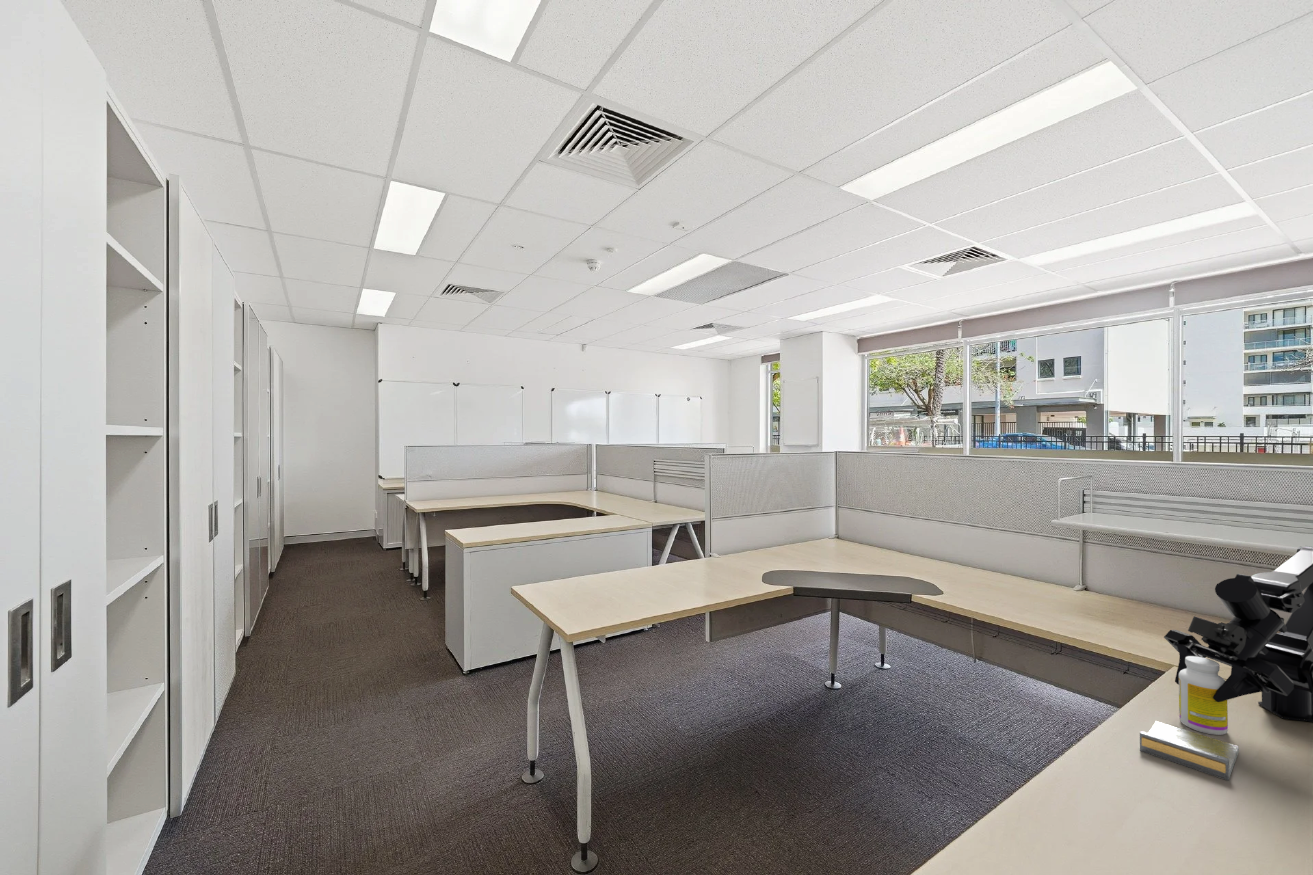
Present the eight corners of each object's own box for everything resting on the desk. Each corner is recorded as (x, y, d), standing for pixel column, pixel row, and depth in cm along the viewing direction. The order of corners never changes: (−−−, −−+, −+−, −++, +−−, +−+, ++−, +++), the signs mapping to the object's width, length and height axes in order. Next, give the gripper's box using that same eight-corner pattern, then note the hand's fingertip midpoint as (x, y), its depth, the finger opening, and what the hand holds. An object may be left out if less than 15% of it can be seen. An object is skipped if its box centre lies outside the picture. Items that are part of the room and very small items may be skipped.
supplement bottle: (1238, 738, 101) (1237, 669, 101) (1196, 734, 102) (1195, 666, 102) (1209, 719, 108) (1208, 655, 108) (1170, 716, 109) (1169, 652, 109)
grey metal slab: (1156, 726, 105) (1155, 709, 105) (1238, 751, 97) (1238, 733, 97) (1139, 751, 97) (1139, 733, 97) (1228, 781, 89) (1227, 761, 89)
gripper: (1171, 590, 115) (1123, 644, 114) (1278, 620, 96) (1221, 685, 95) (1206, 626, 115) (1158, 680, 114) (1319, 663, 96) (1263, 728, 96)
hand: (1195, 691), depth 105 cm, fingers closed on supplement bottle, 7 cm apart
